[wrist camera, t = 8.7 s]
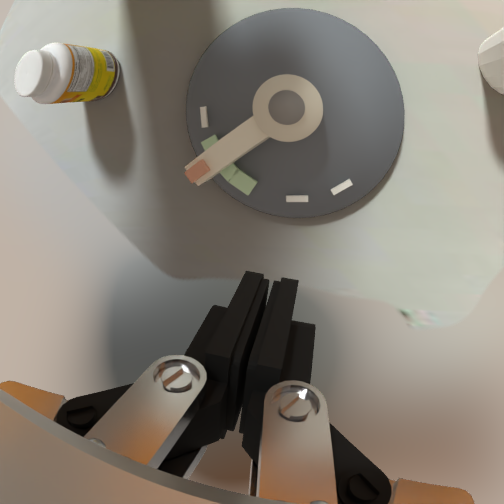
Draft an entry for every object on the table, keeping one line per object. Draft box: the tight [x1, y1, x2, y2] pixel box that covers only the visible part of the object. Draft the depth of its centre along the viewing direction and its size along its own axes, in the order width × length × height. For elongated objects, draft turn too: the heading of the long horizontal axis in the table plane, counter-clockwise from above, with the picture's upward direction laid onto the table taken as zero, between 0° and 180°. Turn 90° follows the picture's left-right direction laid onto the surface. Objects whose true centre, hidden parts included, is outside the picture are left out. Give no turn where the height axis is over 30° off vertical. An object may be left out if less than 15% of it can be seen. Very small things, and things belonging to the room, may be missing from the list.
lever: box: [184, 74, 323, 186], centre depth 23 cm, size 11×5×4 cm, turn 126°
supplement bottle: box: [14, 43, 119, 104], centre depth 22 cm, size 6×6×10 cm
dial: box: [186, 8, 404, 218], centre depth 24 cm, size 18×18×2 cm
